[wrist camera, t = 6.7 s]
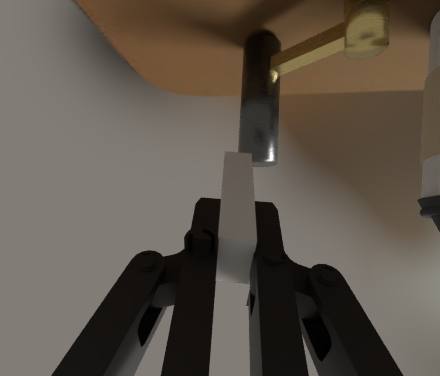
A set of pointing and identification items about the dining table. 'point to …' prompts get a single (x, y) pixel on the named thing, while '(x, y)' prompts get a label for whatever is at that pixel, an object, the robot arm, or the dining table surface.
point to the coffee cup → (431, 131)
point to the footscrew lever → (294, 58)
